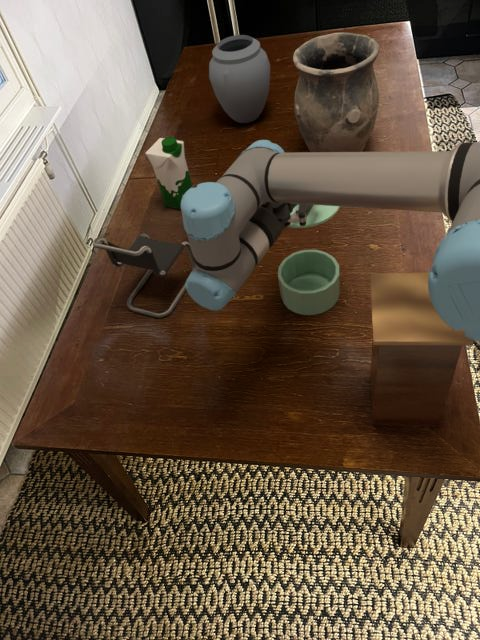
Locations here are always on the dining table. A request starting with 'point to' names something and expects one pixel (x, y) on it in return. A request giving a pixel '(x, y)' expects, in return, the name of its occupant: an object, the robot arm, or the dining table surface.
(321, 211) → the lid
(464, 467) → the dining table surface
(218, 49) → the vase
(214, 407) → the dining table surface
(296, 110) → the clay pot
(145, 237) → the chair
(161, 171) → the milk carton
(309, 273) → the green round bowl
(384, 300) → the stand
